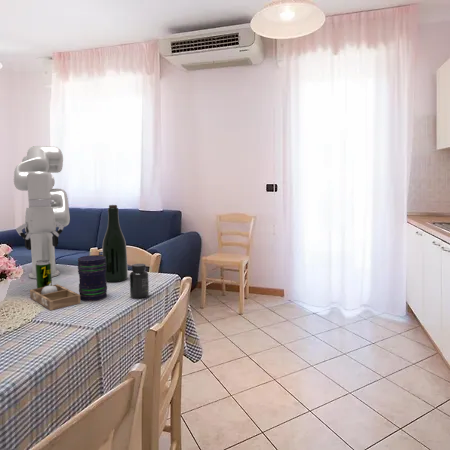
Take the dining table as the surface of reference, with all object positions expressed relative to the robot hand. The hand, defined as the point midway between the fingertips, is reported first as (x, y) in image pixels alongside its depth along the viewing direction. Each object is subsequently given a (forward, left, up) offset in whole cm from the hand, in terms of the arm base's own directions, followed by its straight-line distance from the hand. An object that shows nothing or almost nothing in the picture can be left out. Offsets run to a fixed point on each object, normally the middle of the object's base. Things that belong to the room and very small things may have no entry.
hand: (42, 247), depth 140 cm
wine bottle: (+5, +28, -18) cm, 33 cm away
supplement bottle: (+33, +22, -18) cm, 43 cm away
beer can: (0, 0, -18) cm, 18 cm away
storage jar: (+21, +10, -18) cm, 29 cm away
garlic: (+10, -2, -18) cm, 20 cm away
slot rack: (+15, -2, -17) cm, 23 cm away
